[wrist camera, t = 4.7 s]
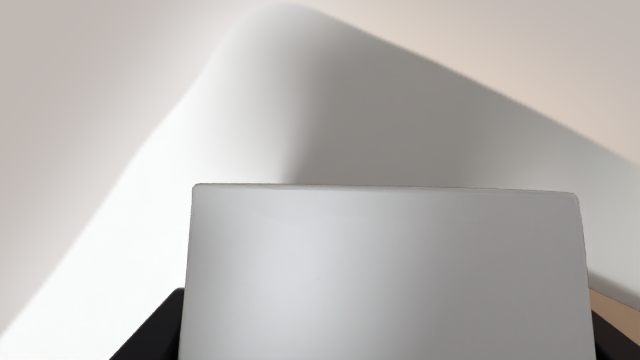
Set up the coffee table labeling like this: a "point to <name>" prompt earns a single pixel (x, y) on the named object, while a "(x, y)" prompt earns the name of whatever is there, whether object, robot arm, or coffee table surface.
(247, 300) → the supplement box
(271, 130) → the coffee table surface
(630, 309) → the walnut plate
